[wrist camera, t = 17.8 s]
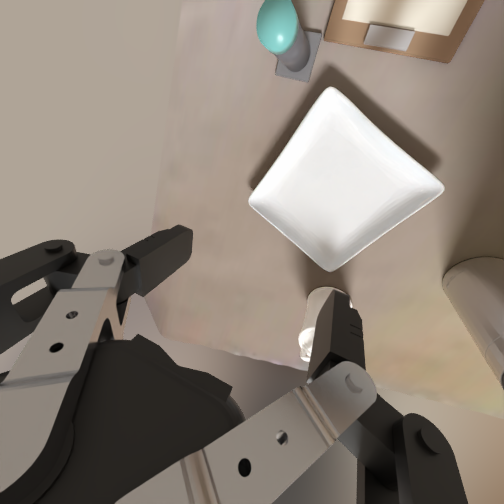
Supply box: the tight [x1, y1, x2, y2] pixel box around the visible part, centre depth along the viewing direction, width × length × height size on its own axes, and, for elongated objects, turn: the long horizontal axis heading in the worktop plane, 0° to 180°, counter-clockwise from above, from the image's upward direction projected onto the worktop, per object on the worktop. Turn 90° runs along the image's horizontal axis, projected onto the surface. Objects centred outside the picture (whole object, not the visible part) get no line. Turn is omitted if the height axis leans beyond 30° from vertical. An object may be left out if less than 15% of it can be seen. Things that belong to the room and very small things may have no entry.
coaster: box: [275, 31, 322, 82], centre depth 29 cm, size 5×5×1 cm
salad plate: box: [248, 86, 445, 272], centre depth 35 cm, size 21×21×3 cm
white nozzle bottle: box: [298, 287, 352, 362], centre depth 39 cm, size 10×9×20 cm
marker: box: [257, 0, 310, 72], centre depth 25 cm, size 4×4×11 cm
